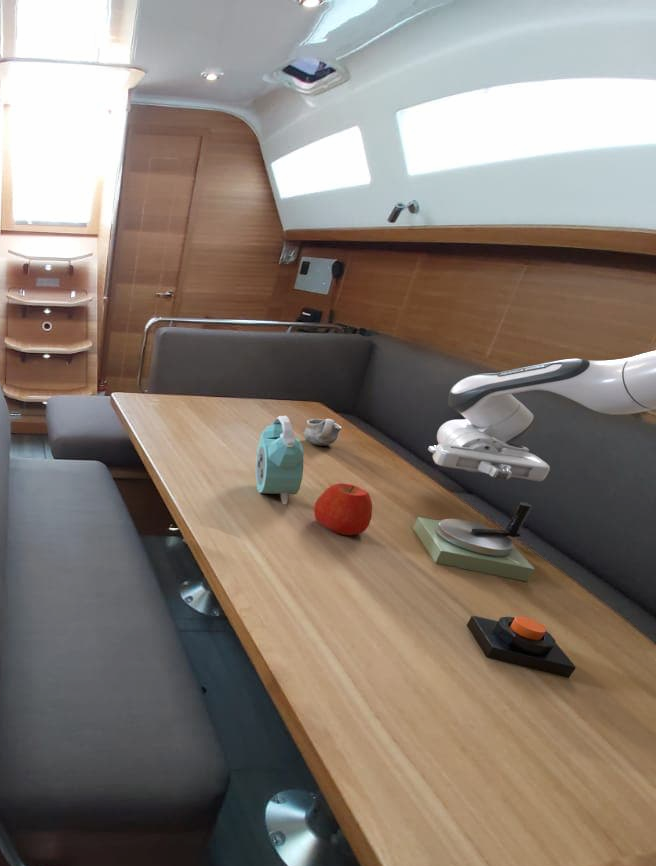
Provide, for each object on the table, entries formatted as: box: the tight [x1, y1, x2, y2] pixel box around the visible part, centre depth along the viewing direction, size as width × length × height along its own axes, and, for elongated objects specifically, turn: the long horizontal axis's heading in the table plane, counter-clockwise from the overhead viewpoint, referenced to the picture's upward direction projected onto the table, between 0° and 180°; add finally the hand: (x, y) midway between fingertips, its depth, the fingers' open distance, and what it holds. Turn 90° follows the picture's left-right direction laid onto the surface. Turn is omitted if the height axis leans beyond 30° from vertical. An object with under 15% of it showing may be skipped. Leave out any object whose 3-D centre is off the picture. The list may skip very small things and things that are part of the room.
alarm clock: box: [255, 415, 305, 505], centre depth 123 cm, size 17×10×20 cm, turn 165°
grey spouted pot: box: [303, 418, 342, 447], centre depth 158 cm, size 10×12×10 cm
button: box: [510, 615, 547, 641], centre depth 77 cm, size 4×4×2 cm
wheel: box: [436, 502, 533, 556], centre depth 101 cm, size 14×12×9 cm
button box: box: [466, 615, 577, 679], centre depth 78 cm, size 10×8×4 cm
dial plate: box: [412, 516, 536, 583], centre depth 104 cm, size 15×15×3 cm
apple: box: [313, 482, 373, 536], centre depth 110 cm, size 11×11×11 cm
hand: (502, 475), depth 109 cm, fingers closed
